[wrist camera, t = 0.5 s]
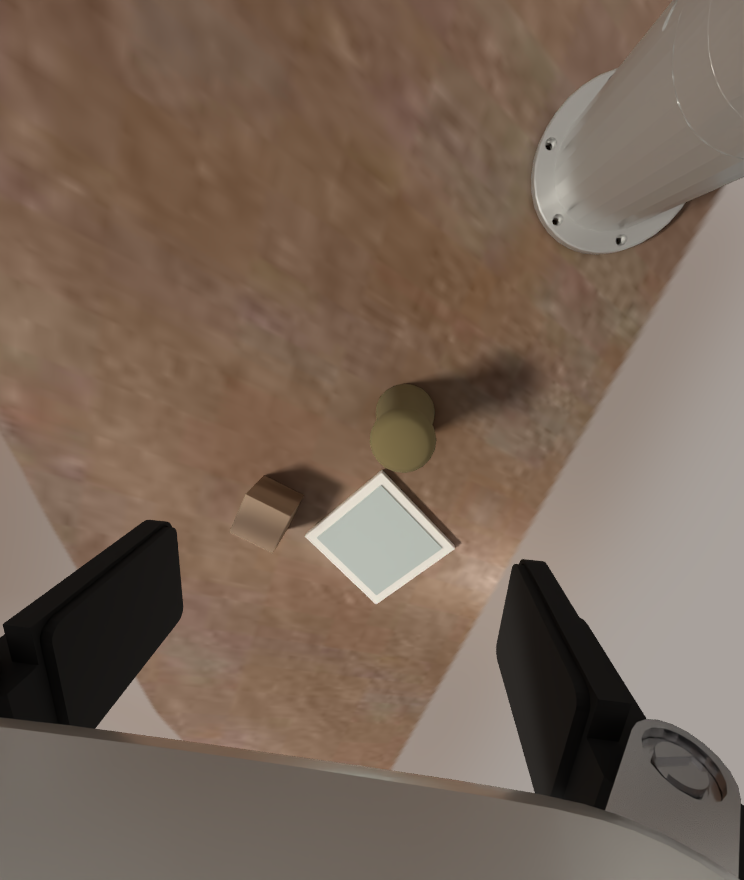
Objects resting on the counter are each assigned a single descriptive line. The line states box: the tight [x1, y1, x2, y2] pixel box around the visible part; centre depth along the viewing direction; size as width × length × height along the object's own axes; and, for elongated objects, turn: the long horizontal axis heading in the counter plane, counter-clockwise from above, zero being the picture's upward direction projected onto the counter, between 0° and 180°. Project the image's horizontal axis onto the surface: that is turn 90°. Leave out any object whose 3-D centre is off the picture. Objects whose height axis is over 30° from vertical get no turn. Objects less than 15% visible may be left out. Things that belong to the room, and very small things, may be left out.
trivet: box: [305, 470, 455, 604], centre depth 43 cm, size 12×12×1 cm
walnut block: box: [229, 475, 304, 554], centre depth 41 cm, size 5×5×5 cm
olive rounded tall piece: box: [370, 384, 436, 473], centre depth 33 cm, size 6×6×11 cm
